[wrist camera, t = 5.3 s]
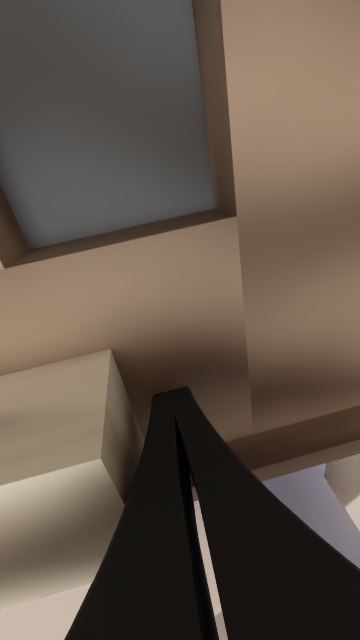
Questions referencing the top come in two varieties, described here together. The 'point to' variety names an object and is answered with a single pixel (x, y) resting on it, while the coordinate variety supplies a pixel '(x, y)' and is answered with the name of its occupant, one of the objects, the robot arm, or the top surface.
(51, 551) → the birch block
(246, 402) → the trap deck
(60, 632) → the top surface
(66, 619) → the top surface
